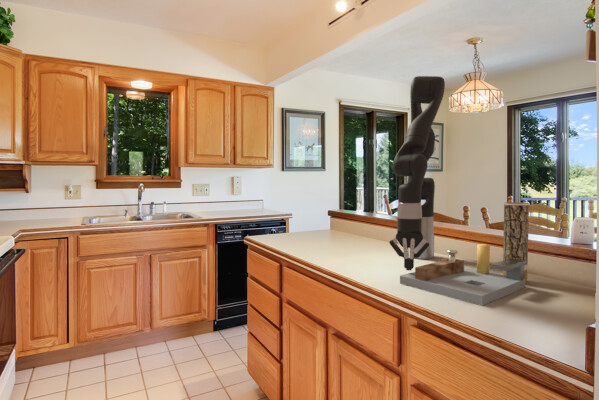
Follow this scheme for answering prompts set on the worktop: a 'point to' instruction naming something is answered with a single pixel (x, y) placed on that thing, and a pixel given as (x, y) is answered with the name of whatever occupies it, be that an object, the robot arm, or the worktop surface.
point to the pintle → (452, 255)
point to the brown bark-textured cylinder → (516, 233)
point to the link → (439, 269)
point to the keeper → (511, 268)
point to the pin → (483, 258)
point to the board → (467, 285)
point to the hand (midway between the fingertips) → (409, 269)
